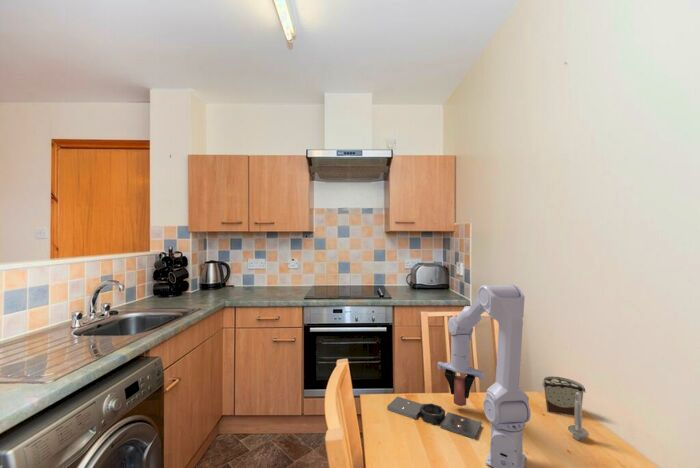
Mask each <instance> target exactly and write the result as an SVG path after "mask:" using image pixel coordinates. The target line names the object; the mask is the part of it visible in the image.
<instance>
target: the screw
mask: <svg viewBox="0 0 700 468" xmlns="http://www.w3.org/2000/svg"><path fill="white" fill-rule="evenodd" d="M581 402H582V403H581ZM574 403H575V407H574V408H575V409H574V410H575V411H574V412H575V413H574V414H575V415H574V416H573V417H574V421H573V422H574V424H573V425H569V426H568V427H567V430H568V432H569V433H571V434H572V437H573V439H575V440H577V441H582V442H584V441H585V438H587V437H589V436H590V433H589V431H588V430H587V429H585V428H583V400H582V401H581V394H580V393H579V392H576V393H575V402H574ZM581 404H582V405H581Z"/></svg>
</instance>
